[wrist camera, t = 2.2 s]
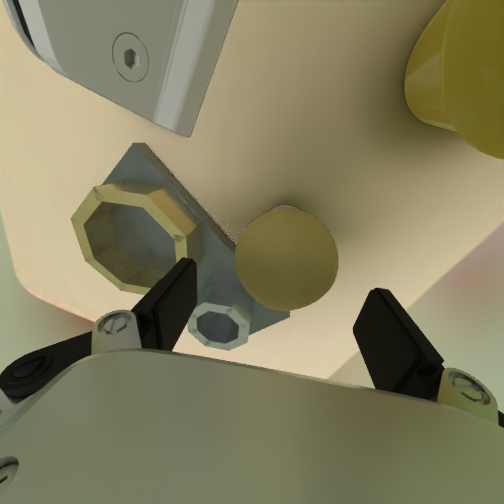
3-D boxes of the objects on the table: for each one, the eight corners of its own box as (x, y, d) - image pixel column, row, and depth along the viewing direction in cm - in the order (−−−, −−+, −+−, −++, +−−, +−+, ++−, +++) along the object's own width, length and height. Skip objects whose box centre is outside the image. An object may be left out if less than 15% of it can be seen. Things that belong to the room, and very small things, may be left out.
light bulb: (275, 262, 21) (269, 345, 13) (237, 214, 19) (199, 272, 11) (332, 230, 19) (373, 305, 10) (295, 172, 17) (307, 202, 8)
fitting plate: (144, 143, 18) (104, 142, 14) (289, 307, 24) (290, 339, 20) (87, 216, 22) (44, 232, 18) (223, 338, 28) (213, 370, 24)
